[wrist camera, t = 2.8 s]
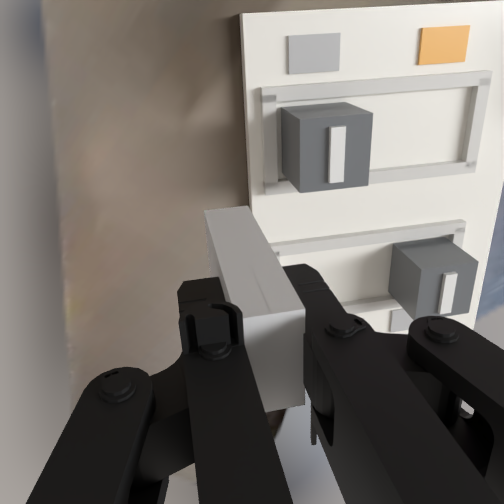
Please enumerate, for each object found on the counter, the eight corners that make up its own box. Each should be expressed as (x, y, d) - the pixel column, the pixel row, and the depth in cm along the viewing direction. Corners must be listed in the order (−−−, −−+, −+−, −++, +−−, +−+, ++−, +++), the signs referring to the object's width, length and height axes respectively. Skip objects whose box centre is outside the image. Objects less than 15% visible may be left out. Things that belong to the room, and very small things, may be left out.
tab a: (280, 107, 27) (301, 120, 24) (345, 101, 28) (375, 114, 24) (282, 172, 29) (301, 195, 25) (342, 166, 30) (370, 187, 26)
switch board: (239, 13, 26) (244, 13, 24) (528, -1, 29) (548, -2, 27) (257, 356, 37) (261, 369, 35) (466, 322, 39) (477, 333, 38)
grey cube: (392, 243, 33) (424, 271, 29) (444, 236, 34) (481, 263, 30) (388, 291, 35) (416, 324, 31) (437, 284, 35) (471, 315, 32)
